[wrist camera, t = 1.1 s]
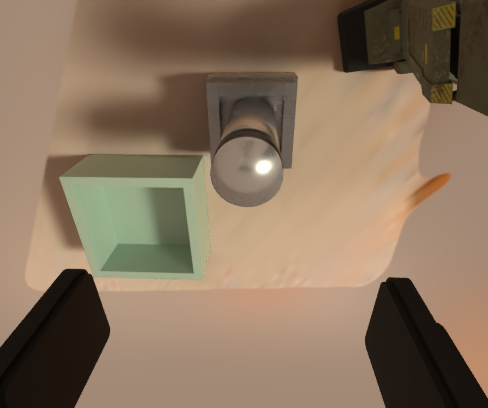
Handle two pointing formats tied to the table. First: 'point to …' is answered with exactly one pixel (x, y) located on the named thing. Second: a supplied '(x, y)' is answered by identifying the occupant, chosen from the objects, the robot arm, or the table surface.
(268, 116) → the strut
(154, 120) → the table surface
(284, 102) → the socket block
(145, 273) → the bin
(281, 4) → the table surface
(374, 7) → the mechanical leg
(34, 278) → the table surface
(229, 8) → the table surface
